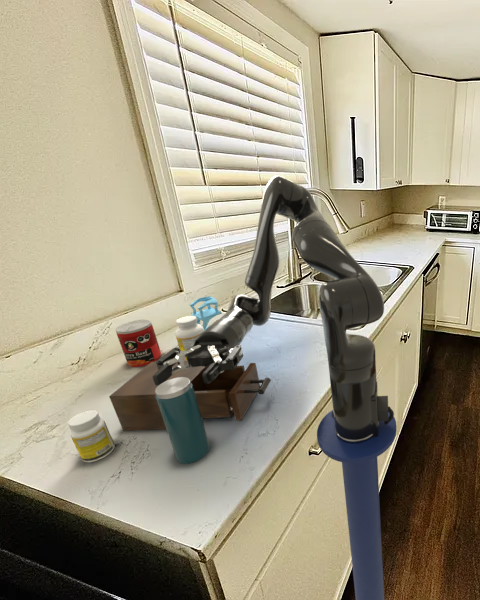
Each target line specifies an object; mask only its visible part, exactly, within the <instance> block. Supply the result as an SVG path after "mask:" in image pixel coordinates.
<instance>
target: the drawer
mask: <svg viewBox="0 0 480 600" xmlns="http://www.w3.org/2000/svg"><path fill="white" fill-rule="evenodd" d="M204 372H205V371H204ZM204 372H203V373H204ZM203 373H202V374H203ZM202 374H201V375H200V376H199V378H198V379H197V380H196V381H195V382H194V383H193V384H192V385H193V389H194V392H195V396H196V399H197V402H198V406H199V409H200V413H201V416H202V419H215V418H217V419H218V418H231V417H232V415H234V419H235V421H241V420H242V419H243V418H244V416H245V414H246V413H247V411H248V409H249V407H250V405H251V404H252V402H253V400H254V399H255V397H256V395H257V394H258V395H261V396H263V395H264V394H265V392H266V390H267V389H268V386H269V385H270V383H271V378H270V377H268V376H267V377H265V378H264V379H260V378H259V374H258V369H257V363H256V362H250V363H249V365H248V366H247V367H246V369H245V367H244V365H237V366H236V368H235V369H234V370H233V371H228V369H226V370H224V372H222V373H220V374H219V375H218V376H217V377H216V378H215V379H214V380H213V381H211V382H210V383H209V384H204V381H203V377H202Z"/></svg>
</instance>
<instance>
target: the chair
mask: <svg viewBox="0 0 480 600" xmlns="http://www.w3.org/2000/svg"><path fill="white" fill-rule="evenodd" d="M200 302H203V303H202V304H201V305H200V306H198V307H197V309H196V307H195V305H196V304H198V303H200ZM218 303H219V302H218V300H217V299H216V298H215V297H214V296H211V295H209V296H202V297H199V298H197V299H195V300H194V301H193V302H192V303H190V304H189V306H190V308H191V309H192V313H190V316H196V318H197V324H200V325H201V322H202V326H203V328H204V331H205V330H206V329H207V328H208V327H209V326H210V325H208V324H209V322H210V321H211V320H212V319H213V318H215V317H216V316H219V315H222V311H221V310H219V309H218V305H219V304H218ZM212 305H213V306H214V307H211V306H212ZM206 307H207V308H206ZM204 308H205V309H204ZM197 310H198V311H197Z"/></svg>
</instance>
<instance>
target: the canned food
mask: <svg viewBox="0 0 480 600" xmlns="http://www.w3.org/2000/svg"><path fill="white" fill-rule="evenodd" d="M115 333H116V336H117V339H118V342H119V344H120V348H121V350H122V352H123V355H124V357H125V361H126V363H127V364H128V366H129V367H130V368H141V367H146V366H147V365H148V364H150V363H151V362H156V361H157V360H159V359H160V358H161V357H162V352H161V348H160V345H159V341H158V339H157V335H156V333H155V329H154V326H153V323H152V321H151V320H150V319H136V320H132V321H128V322H125V323H122V324H120V325H119V326H117V327H116V328H115Z"/></svg>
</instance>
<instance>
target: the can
mask: <svg viewBox="0 0 480 600" xmlns="http://www.w3.org/2000/svg"><path fill="white" fill-rule="evenodd" d="M155 392H156V396H155V397H156V400H157V403H158V406H159V409H160V412H161V415H162V418H163V420H164V423H165V426H166V429H165V430H166V432H167V435H168V438H169V440H170V444H171V446H172V449H173V452H174V455H175V458H176V461H177V462H178V463H180V464H182V465H187V464H193V463H195V462H197V461H200V460H201V459H202V458H203V457H205V456H206V455H207V454H208V452H209V451H210V449H211V444H210V441H209V437H208V434H207V430H206V427H205V423H204V420H203V418H202V416H201V413H200V409H199V406H198V402H197V399H196V396H195V392H194V389H193V385H192V383H190V380H189V379H188V378H185V377H178V378H173V379H170V380H167V381H165V382H163V383H162V384H160V385H159V386H158V387H157V388H156V390H155Z"/></svg>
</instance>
